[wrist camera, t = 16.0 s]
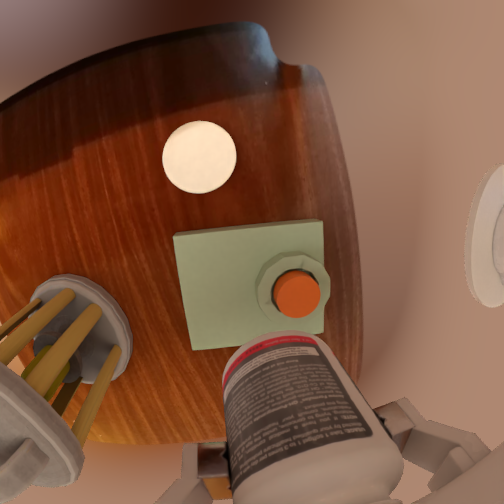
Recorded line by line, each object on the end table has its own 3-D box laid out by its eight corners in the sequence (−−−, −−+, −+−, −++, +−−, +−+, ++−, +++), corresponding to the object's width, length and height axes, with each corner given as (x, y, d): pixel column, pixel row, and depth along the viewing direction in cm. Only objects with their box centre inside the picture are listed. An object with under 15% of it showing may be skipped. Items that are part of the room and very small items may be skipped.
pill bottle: (201, 393, 12) (207, 590, 3) (261, 305, 12) (357, 545, 2) (291, 422, 14) (346, 575, 4) (353, 350, 13) (470, 502, 3)
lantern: (102, 258, 27) (-75, 419, 3) (152, 368, 31) (110, 567, 7) (17, 289, 26) (-114, 398, 2) (66, 382, 30) (-5, 522, 6)
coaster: (233, 118, 26) (233, 117, 25) (238, 189, 27) (239, 189, 27) (161, 127, 25) (160, 126, 24) (166, 197, 27) (165, 197, 26)
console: (315, 218, 29) (330, 223, 25) (317, 323, 32) (329, 341, 28) (176, 232, 27) (169, 240, 24) (193, 340, 30) (191, 360, 27)
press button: (314, 267, 26) (320, 273, 24) (314, 307, 27) (320, 314, 25) (271, 273, 26) (275, 279, 24) (274, 313, 27) (278, 321, 25)
